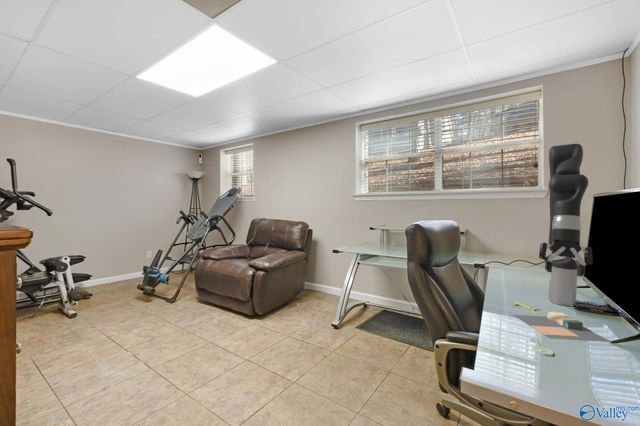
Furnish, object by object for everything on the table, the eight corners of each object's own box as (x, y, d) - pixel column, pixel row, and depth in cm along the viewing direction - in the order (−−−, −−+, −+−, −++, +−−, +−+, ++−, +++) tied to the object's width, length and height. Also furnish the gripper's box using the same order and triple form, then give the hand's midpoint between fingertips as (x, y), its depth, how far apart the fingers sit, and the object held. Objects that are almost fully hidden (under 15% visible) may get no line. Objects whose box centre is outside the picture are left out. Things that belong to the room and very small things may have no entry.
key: (513, 305, 125) (514, 300, 125) (548, 313, 116) (548, 308, 116) (510, 309, 120) (510, 304, 119) (546, 318, 111) (546, 313, 111)
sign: (545, 336, 93) (554, 356, 80) (544, 339, 93) (554, 358, 80) (526, 332, 95) (532, 350, 83) (526, 335, 95) (532, 353, 83)
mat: (512, 315, 111) (512, 314, 111) (563, 318, 109) (563, 317, 109) (549, 339, 91) (549, 337, 91) (612, 343, 90) (612, 341, 89)
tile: (547, 317, 109) (547, 311, 109) (560, 318, 109) (560, 312, 109) (567, 328, 99) (568, 321, 99) (582, 329, 99) (582, 322, 99)
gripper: (585, 231, 97) (584, 276, 96) (537, 227, 103) (535, 270, 101) (598, 230, 90) (596, 278, 89) (545, 226, 96) (543, 271, 94)
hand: (564, 274), depth 95 cm, fingers open, 8 cm apart
